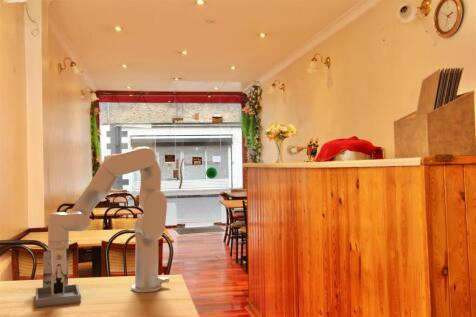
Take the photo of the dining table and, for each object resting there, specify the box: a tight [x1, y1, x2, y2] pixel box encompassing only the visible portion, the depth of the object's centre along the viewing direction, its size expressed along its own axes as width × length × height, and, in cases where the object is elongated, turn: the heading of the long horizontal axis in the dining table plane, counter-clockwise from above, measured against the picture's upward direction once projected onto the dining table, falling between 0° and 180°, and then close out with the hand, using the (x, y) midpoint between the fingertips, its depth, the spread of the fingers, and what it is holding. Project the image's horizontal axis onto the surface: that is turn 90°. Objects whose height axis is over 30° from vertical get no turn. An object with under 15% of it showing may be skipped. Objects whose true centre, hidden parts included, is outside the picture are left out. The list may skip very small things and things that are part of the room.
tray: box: [35, 283, 82, 309], centre depth 173 cm, size 16×16×3 cm
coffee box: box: [42, 248, 69, 288], centre depth 188 cm, size 9×6×16 cm
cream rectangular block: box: [51, 273, 65, 295], centre depth 173 cm, size 4×4×7 cm
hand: (58, 290), depth 174 cm, fingers closed on cream rectangular block, 4 cm apart
